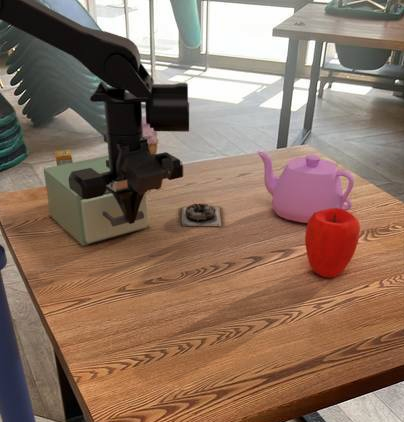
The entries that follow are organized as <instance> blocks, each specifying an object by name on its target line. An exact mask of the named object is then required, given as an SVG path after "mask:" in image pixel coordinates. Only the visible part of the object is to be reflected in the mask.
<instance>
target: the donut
mask: <svg viewBox="0 0 404 422" xmlns="http://www.w3.org/2000/svg"><path fill="white" fill-rule="evenodd" d="M221 219H222V218H221V208H220V207H219V206H215V207H214V206H212V205H211V204H208V203H203V202H202V203H199V202H198V203H192V204H190V205H188V206H182V208H181V224H182V226H184V227H222V221H221Z"/></svg>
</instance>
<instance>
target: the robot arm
mask: <svg viewBox="0 0 404 422" xmlns="http://www.w3.org/2000/svg"><path fill="white" fill-rule="evenodd" d="M0 21H2V22H4V23H7V24H8V25H10V26H12V27H14V28H16V29H18V30H20V31H22V32H24V33H25V34H28V35H29V36H32V37H33V38H36V39H38V40H39V41H41V42H43V43H46V44H48V45H50V46H52V47H54V48H56V49H58V50H60V51H62V52H64V53H66V54H67V55H70V56H72V57H73V58H74V59H76V60H77V61H78V62H80V63H81V64H82V66H84V67H85V69H86V70H87V71H89V72H90V73H91V74H93V75H94V77H96V78H98V79H99V80H100V82H99V83H98V86H97V87H96V89H94V90H93V91H92V93H91V96H90V97H89V100H90V102H92V103H103V108H104V109H103V110H104V120H105V132H106V133H105V134H103V136H102V137H103V142H105V143H106V144H107V154H108V155H107V156H109V160H106V167H108V168H109V169H110V171H109V172H105V173H100V174H99V173H98V172H96V171H95V170H93V169H92V168H87V169H82V170H77V171H72V172H71V174H70V176H69V178H68V179H69V187H70V189H71V190H72V191H74V192H75V193H76V194H78V195H79V196H80V197H81V198H83V199H91V198H96V197H100V196H103V195H104V193H105V192H106V190H108V191H109V192H111V193H112V194H113V196H114V197H115V199H116V200H117V202H118V204H119V206H120V208H121V210H122V212H123V214H124V216H125V218H126V220H127V222H128V223H129V224H133V223H134V222H135V219H136V216H137V213H138V210H139V207H140V203H141V201H142V198H143V196H144V194H145V193H146V194H147V192H148V191H153V190H156V191H157V190H160V189H161V188H162V185H163V180H166V179H167V180H168V181H171V180H173V181H174V180H177V179H181V178H183V177H184V176H185V175H184V163H183V162H182V160H181V159H180V158H178V157H176V156H174V155H172V154H170V153H169V152H167V151H164V152H159V153H156V154H154V155H151V154H150V151H149V147H148V143H147V139H146V138H144V137H143V124H142V120H143V106H142V103H145V105H144V106H145V107H144V109H145V117H146V124H150V128H153V130H154V131H157V132H168V133H169V132H172V133H173V132H178V133H183V132H184V133H185V132H187V133H190V102H189V84H188V83H186V82H178V83H174V84H168V83H164V84H163V83H161V84H160V83H155V80H154V79H153V77H152V76H151V74H150V73H149V72H148V70H147V69H146V68H145V66H144V65H143V63H142V61H141V54H140V51H139V48H138V46H137V44H136V43H135V42H133V41H132V40H131V39H129V38H127V37H125V36H122V35H118V34H116V33H112V32H110V31H109V32H108V31H105V30H100V29H95V28H91V27H87V26H84V25H82V24H80V23H78V22H76V21H75V20H72V19H70V18H69V17H67V16H65V15H63V14H61V13H59V12H57V11H56V10H54V9H51V8H49V7H48V6H46V5H44V4H42V3H40V2H38V1H37V0H0Z"/></svg>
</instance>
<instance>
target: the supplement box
mask: <svg viewBox="0 0 404 422" xmlns="http://www.w3.org/2000/svg"><path fill="white" fill-rule="evenodd" d="M54 156H55V157H54V158H55V161H56V166H59V165H64V164H69V163H74V161H73V156H72V153H71V150H70V149H66V150H58V151H55V152H54Z"/></svg>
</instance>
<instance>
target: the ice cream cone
mask: <svg viewBox="0 0 404 422" xmlns="http://www.w3.org/2000/svg"><path fill="white" fill-rule="evenodd" d="M142 124H143V137H144V138H146V139H147V143H148V147H149V151H150V154H151V155H154V154H157V153H158V144H159V139H158V134H159V131H154V130H153V128H150V124H146V115H142Z"/></svg>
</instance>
